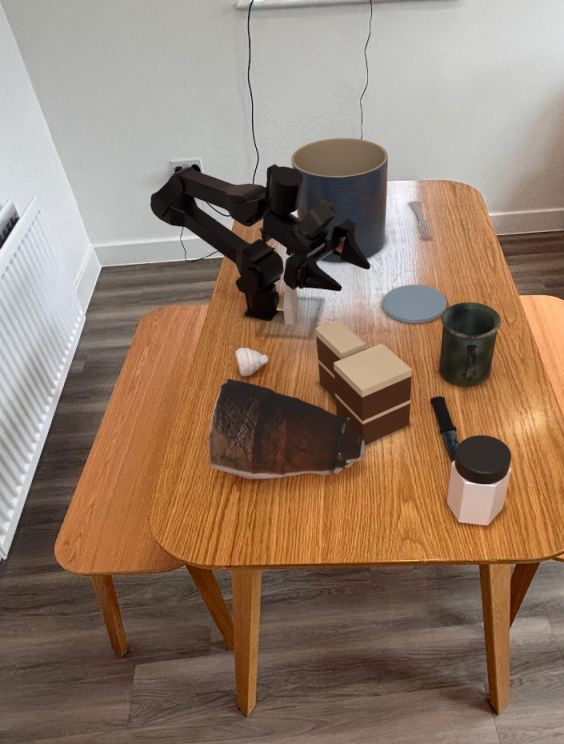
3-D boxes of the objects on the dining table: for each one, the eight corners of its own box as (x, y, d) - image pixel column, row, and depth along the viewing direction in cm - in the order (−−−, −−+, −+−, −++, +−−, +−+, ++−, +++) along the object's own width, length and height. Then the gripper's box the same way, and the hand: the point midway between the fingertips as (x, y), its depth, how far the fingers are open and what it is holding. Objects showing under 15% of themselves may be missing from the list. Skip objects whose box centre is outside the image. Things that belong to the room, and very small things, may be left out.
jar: (468, 479, 107) (476, 425, 98) (510, 501, 104) (523, 448, 95) (437, 510, 103) (443, 457, 94) (480, 535, 100) (490, 483, 90)
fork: (418, 211, 176) (418, 200, 174) (432, 239, 161) (432, 227, 159) (408, 211, 176) (408, 201, 174) (420, 239, 161) (421, 228, 159)
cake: (336, 418, 118) (333, 362, 109) (381, 398, 122) (382, 342, 112) (363, 446, 113) (361, 390, 104) (409, 425, 117) (412, 369, 107)
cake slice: (319, 383, 125) (315, 328, 115) (341, 374, 127) (338, 319, 117) (343, 408, 120) (341, 353, 110) (366, 399, 122) (365, 343, 112)
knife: (429, 397, 119) (445, 395, 120) (429, 403, 121) (445, 400, 121) (456, 476, 106) (473, 473, 106) (455, 481, 107) (473, 479, 107)
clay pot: (370, 444, 96) (206, 410, 95) (352, 516, 107) (204, 486, 106) (377, 392, 107) (231, 360, 106) (360, 462, 118) (227, 434, 117)
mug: (489, 354, 130) (497, 301, 120) (496, 401, 120) (506, 347, 111) (435, 354, 130) (439, 301, 121) (438, 401, 121) (444, 347, 111)
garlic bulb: (272, 376, 127) (269, 353, 123) (242, 382, 126) (238, 359, 122) (266, 360, 130) (262, 337, 126) (237, 366, 129) (233, 343, 125)
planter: (290, 228, 167) (282, 145, 151) (371, 215, 170) (371, 132, 155) (310, 270, 153) (303, 183, 138) (398, 255, 156) (401, 168, 141)
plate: (374, 316, 140) (374, 312, 139) (394, 284, 148) (394, 280, 147) (436, 328, 136) (436, 324, 135) (453, 294, 144) (454, 290, 144)
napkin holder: (278, 324, 139) (274, 293, 133) (284, 306, 143) (281, 276, 138) (293, 325, 139) (290, 294, 133) (299, 307, 143) (296, 276, 137)
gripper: (264, 214, 110) (334, 264, 108) (329, 176, 120) (394, 221, 118) (258, 267, 120) (322, 313, 118) (318, 227, 129) (379, 269, 127)
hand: (355, 278), depth 120 cm, fingers open, 9 cm apart
